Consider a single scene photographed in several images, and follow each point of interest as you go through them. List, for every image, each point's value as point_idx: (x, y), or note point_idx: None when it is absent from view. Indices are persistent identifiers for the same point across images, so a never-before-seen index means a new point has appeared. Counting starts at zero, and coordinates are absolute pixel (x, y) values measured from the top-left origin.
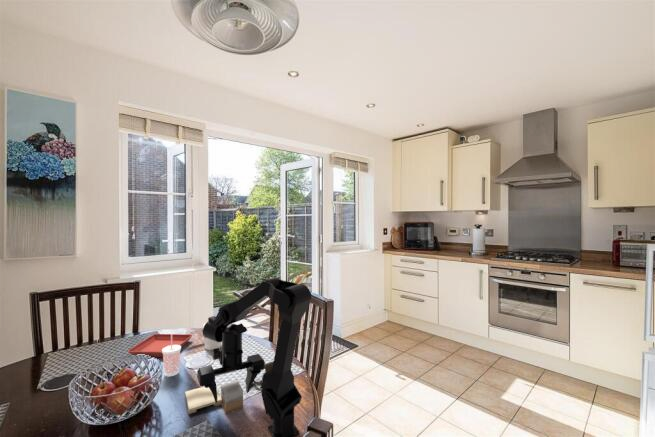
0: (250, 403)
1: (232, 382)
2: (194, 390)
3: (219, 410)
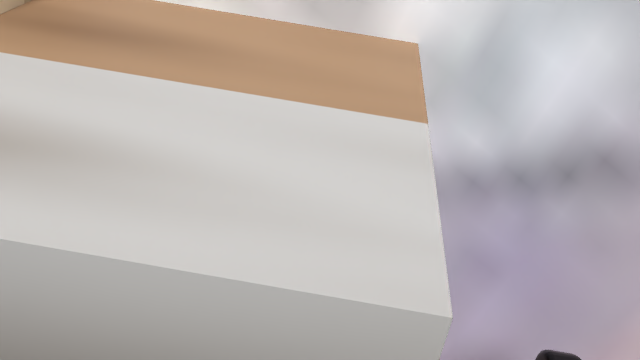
0: (506, 327)
1: (171, 309)
2: None
3: None
